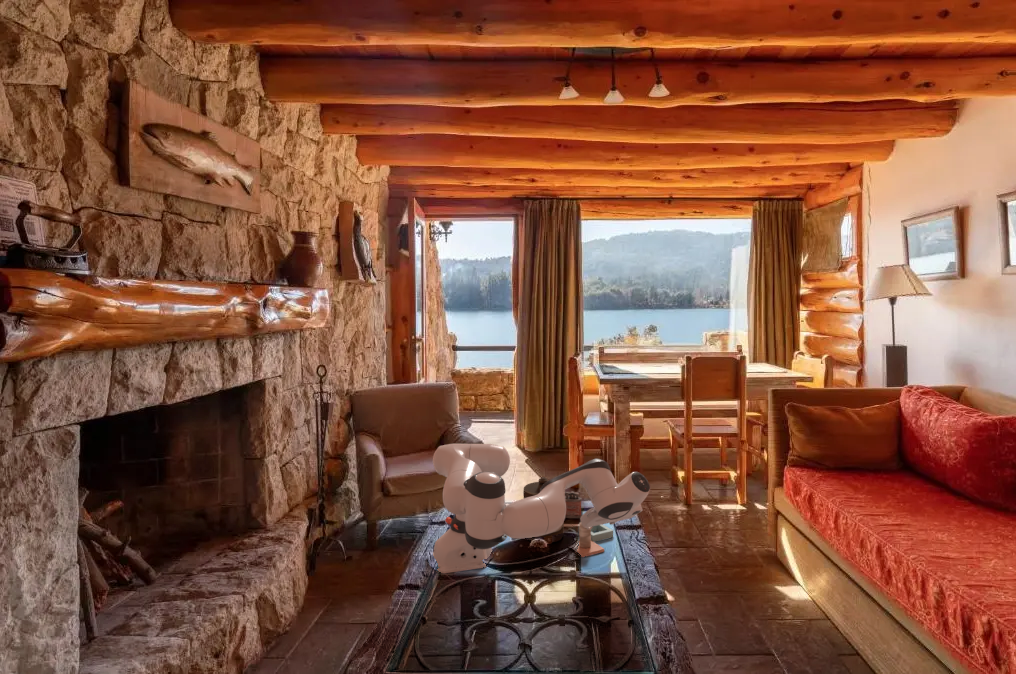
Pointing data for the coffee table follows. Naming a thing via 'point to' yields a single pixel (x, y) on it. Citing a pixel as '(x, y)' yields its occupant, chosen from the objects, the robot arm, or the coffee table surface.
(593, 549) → the terracotta tile
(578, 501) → the lighter
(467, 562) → the robot arm
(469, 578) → the coffee table surface
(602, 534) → the pocket holder
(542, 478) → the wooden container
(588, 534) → the peg
